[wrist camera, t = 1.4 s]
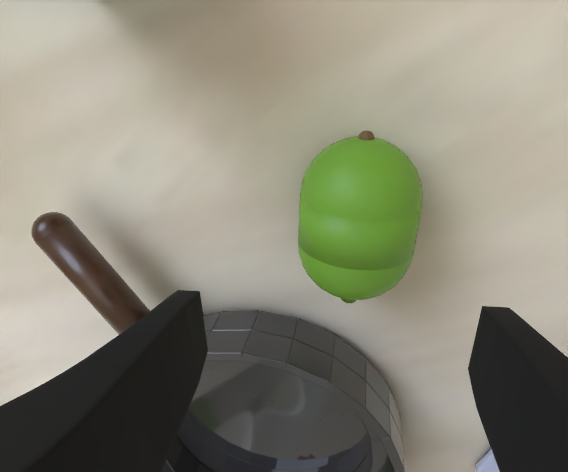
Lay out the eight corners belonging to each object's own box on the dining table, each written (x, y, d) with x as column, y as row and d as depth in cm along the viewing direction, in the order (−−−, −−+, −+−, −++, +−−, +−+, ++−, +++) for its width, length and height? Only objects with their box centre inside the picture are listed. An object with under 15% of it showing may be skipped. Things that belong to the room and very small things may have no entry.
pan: (454, 381, 23) (470, 443, 19) (331, 533, 30) (325, 599, 27) (181, 259, 23) (146, 300, 19) (122, 441, 30) (88, 495, 26)
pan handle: (188, 338, 22) (174, 362, 21) (158, 354, 23) (143, 377, 22) (67, 197, 20) (41, 211, 18) (39, 220, 21) (12, 235, 19)
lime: (311, 116, 19) (293, 140, 14) (425, 123, 18) (443, 150, 14) (303, 269, 22) (286, 326, 18) (399, 280, 21) (407, 342, 17)
